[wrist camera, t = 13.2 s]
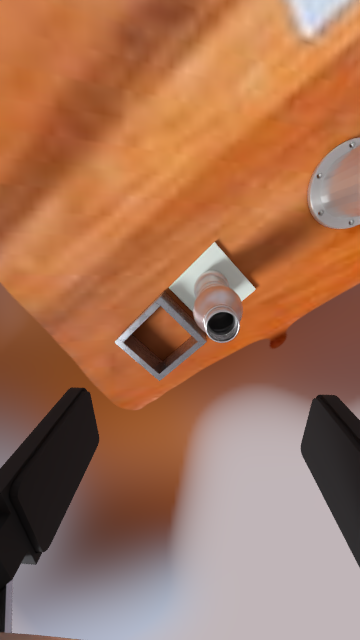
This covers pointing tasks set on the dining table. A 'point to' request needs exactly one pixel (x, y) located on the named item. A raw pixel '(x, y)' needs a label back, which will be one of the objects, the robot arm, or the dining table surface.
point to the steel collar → (149, 358)
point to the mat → (210, 262)
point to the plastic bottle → (217, 307)
